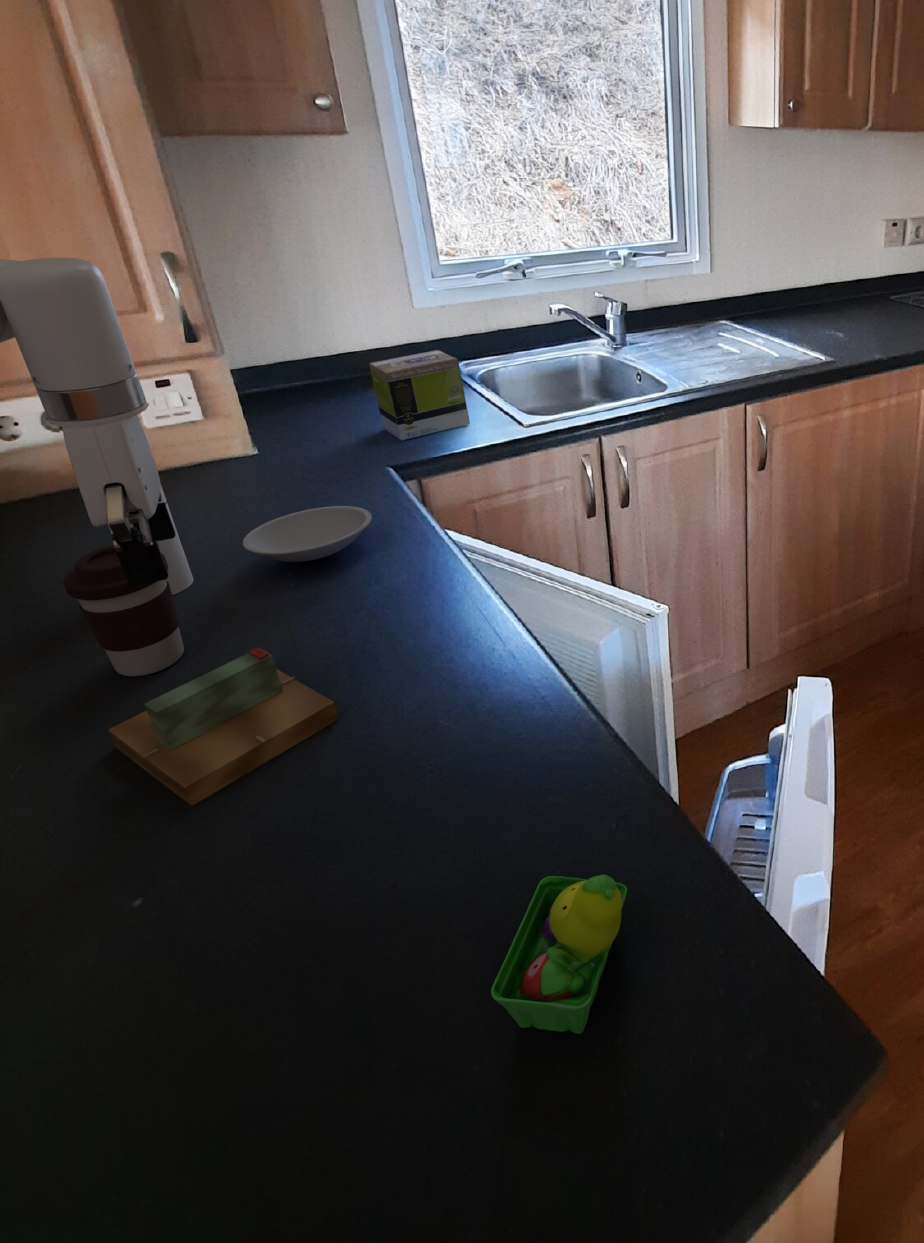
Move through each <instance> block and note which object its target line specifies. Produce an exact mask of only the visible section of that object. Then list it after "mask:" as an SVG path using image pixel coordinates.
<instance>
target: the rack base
mask: <svg viewBox="0 0 924 1243" xmlns="http://www.w3.org/2000/svg"><path fill="white" fill-rule="evenodd" d="M276 670H277V673H278V676H279V680H280V683H281V686H282V689H283V691H281V692H279V693H278V694H276V695H274V696H272V697H270V698H268V699H266V700H265V701H263V702H261V703H259V704H257V705H255V706H253V707H251V708H250V709H248V710H246V711H244V712H242V713H240V714H238V715H236V716H235V717H233V718H231V719H229V720H227V721H225V722H223V723H222V724H220V725H218V726H216V727H214V728H212V729H210V730H208V731H207V732H205V733H203V734H201V735H199V736H197V737H195V738H193V739H192V740H190V741H188V742H186V743H184V744H182V745H180V746H179V747H177V748H175V749H173V750H170V749H169V748H167V747H166V746H165V745H163V744H162V743H160V742H159V741H158V738H157V736H156V733H155V731H154V728H153V726H152V723H151V721H150V719H149V716H148V714H147V711H146V710H145V711H143V712H141V713H139V714H136V715H135V716H133V717H131V718H129V719H126V720H124V721H122V722H120V723H118V724H116V725H114V726H113V727H111V728H108V729H107V732H108V734H109V737H110V738H111V741H112V743H113V745H114V748H116V749H117V750H118V751H119V752H121V753H122V754H123V755H125V756H126V757H127V758H129V759H130V760H131V761H133V762H134V764H136V765H138V766H139V767H140V768H141V769H143V770H144V771H145V772H147V773H148V774H149V775H151V776H152V777H153V778H155V780H157V781H158V782H159V783H161V784H162V785H164V786H165V787H166V788H168V789H169V791H171V792H172V793H174V795H177V796H178V797H179V798H180V799H182V800H183V801H184V802H186V803H187V804H188V805H189V806H191V807H193V806H195V805H196V804H199V803H200V802H202V801H203V800H205V799H207V798H208V797H210V796H211V795H213V794H215V793H216V792H218V791H221V790H222V789H223V788H225V787H227V786H229V785H230V784H232V783H233V782H236V781H237V780H239V779H240V778H242V777H244V776H246V775H247V774H250V773H251V772H252V771H254V770H255V769H257V768H259V767H261V766H262V765H264V764H266V763H268V762H269V761H271V760H272V759H274V758H276V757H277V756H279V755H281V754H282V753H284V752H287V750H289V749H292V748H293V747H295V746H297V745H298V744H299V743H301V742H303V741H305V740H306V739H308V738H310V737H312V736H313V735H315V734H317V733H318V732H320V731H322V730H324V729H325V728H326V727H329V726H330V725H332V724H333V723H335V722H337V721H339V720H340V718H339V715H338V714H339V713H338V710H337V708H336V704H335V701H333V700H331V699H329V698H328V697H326V696H324V695H322V694H321V693H320V692H317V691H315V690H314V689H313V688H310V687H309V686H307V685H305V684H304V683H302V682H300V681H298V680H297V679H296V677H295V676H292V677H291V676H290V675H288V674H286V673H285V672H284V671H281V670H280V669H277V668H276Z"/></svg>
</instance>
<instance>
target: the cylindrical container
mask: <svg viewBox="0 0 924 1243" xmlns="http://www.w3.org/2000/svg"><path fill="white" fill-rule="evenodd" d="M160 493H161V496H162V502H158V503H163V502H165V504H166V507H167V510H168V513H169V516H170V519H171V521H172V524H173V527H174V530H175V533H176V534H175V537H174V538H172V539H167V540H162V541H157V544H158V546H159V549H160V552H161V553H162V554H163V555H164V556H165V559H166V561H167V564H168V578H167V579H166V580H167V581H168V582H169V585H170V589H171V592H172V596H173V595H177V594H179V593H181V592H183V591H185V590H187V589H188V588H189V587H191V586H192V584H193V583H194V576H193V574H192V571H191V568H190V565H189V562H188V559H187V556H186V554H185V551H184V548H183V544H182V543H181V539H180V537H179V534H178V530H177V528H176V524H175V521H174V518H173V515H172V513H171V510H170V507H169V503H168V501H167V499H166V495H165V492H164V489H163V486H162V485H161V489H160ZM127 515H129V513H127ZM106 525H107V526H108V529H109V531H110V533H111V528H110V527H109V524H108V521H107V524H106ZM131 527H133V524H131ZM110 535H112V533H111V534H110Z"/></svg>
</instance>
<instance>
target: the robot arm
mask: <svg viewBox="0 0 924 1243" xmlns="http://www.w3.org/2000/svg"><path fill="white" fill-rule="evenodd" d="M12 339H15V341H16V344H17V345H18V349H19V351H20V353H21V356H22V358H23V361H24V363H25V365H26V369H27V371H28V373H29V375H30V378H31V381H32V383H33V386H34V387H35V390H36V393H37V395H38V398H39V399H40V403H41V405H42V408H43V410H44V412H45V415H46V418H47V420H48V423H49V424H50V425H52V426H56V427H61V431H62V434H63V439H64V443H65V444H64V445H65V447H66V451H67V454H68V459H69V462H70V465H71V468H72V471H73V475H74V476H75V479H76V484H77V486H78V489H79V493H80V496H81V498H82V500H83V503H84V506H85V509H86V512H87V515H88V518H89V521H90V523H91V525H92V526H93V527H96V528H98V529H100V528H103V527H104V525H108V524H109V526H108V528H109V527H110V528H111V531H110V533H112V534H111V539H112V543H113V545H114V547H115V551H116V553H117V556H118V558H119V561H120V563H121V566H122V569H123V571H124V574H125V576H126V579H127V581H128V584H129V585H131V586H137V585H142V584H147V583H152V582H157V581H161V580H166V579H167V578H168V571H167V568H166V565H165V563H164V560H163V557H162V554H161V552H160V549H159V546H158V544H157V541H162V540H167V539H172V538H174V537H175V534H176V533H175V530H174V527H173V524H172V521H171V519H170V516H169V513H168V510H167V507H166V504H165V502H163V503H158V502H162V496H161V493H160V489H161V486H162V484H161V479H160V478H161V477H160V474H159V470H158V467H157V464H156V461H155V458H154V455H153V452H152V449H151V446H150V444H149V441H148V438H147V436H146V433H145V430H144V428H143V424H142V423H141V419H140V416H139V415H140V414H141V413H143V412H145V411H147V409H148V408H149V404H148V401H147V398H146V397H145V393H144V389H143V386H142V384H141V382H140V379H139V376H138V373H137V370H136V367H135V364H134V361H133V358H132V355H131V352H130V349H129V346H128V344H127V340H126V337H125V335H124V332H123V329H122V325H121V322H120V320H119V318H118V313H117V311H116V308H115V306H114V302H113V300H112V297H111V294H110V290H109V288H108V285H107V282H106V280H105V277H104V275H103V273H102V271H101V270H100V268H98V266H97V265H96V264H94V263H93V262H91V261H89V260H86V259H82V258H77V257H43V258H33V259H26V260H14V259H5V258H0V344H1V343H3V342H6V341H10V340H12ZM127 513H129V515H127ZM107 521H108V524H107ZM131 524H133V527H131Z"/></svg>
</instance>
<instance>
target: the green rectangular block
mask: <svg viewBox="0 0 924 1243" xmlns="http://www.w3.org/2000/svg"><path fill="white" fill-rule="evenodd" d="M276 669H277V667H276V664H275V661H274V657H273V655H272V654H271V653H269V652H267V651H266V650H264V649H262V648H260V647H255V648H253V649H251V650H249V651H248V653H245V654H243V655H241V656H239V657H238V658H237V657H236V658H235V659H233V660H231V661H229V662H227V663H225V664H223V665H221V666H219V667H217V668H215V669H213V670H211V671H207V672H206V673H204V674H203V675H200V676H198V677H195V678H194V679H192V680H190V681H188V682H186V683H184V684H182V685H179V686H178V687H176V688H174V689H171V690H169V691H167V692H165V693H164V694H161V695H159V696H156V697H155V698H153V699H151V700H149V701H146V702H145V703H143V706H144V708H145V711H147V714H148V716H149V719H150V721H151V723H152V726H153V728H154V731H155V733H156V736H157V738H158V741H159V742H160V743H162V744H163V745H165V746H166V747H167V748H169V749H170V750H173V749H175V748H177V747H179V746H180V745H182V744H184V743H186V742H188V741H190V740H192V739H193V738H195V737H197V736H199V735H201V734H203V733H205V732H207V731H208V730H210V729H212V728H214V727H216V726H218V725H220V724H222V723H223V722H225V721H227V720H229V719H231V718H233V717H235V716H236V715H238V714H240V713H242V712H244V711H246V710H248V709H250V708H251V707H253V706H255V705H257V704H259V703H261V702H263V701H265V700H266V699H268V698H270V697H272V696H274V695H276V694H278V693H279V692H281V691H283V689H282V686H281V683H280V680H279V676H278V673H277V670H278V669H277V670H276Z"/></svg>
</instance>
